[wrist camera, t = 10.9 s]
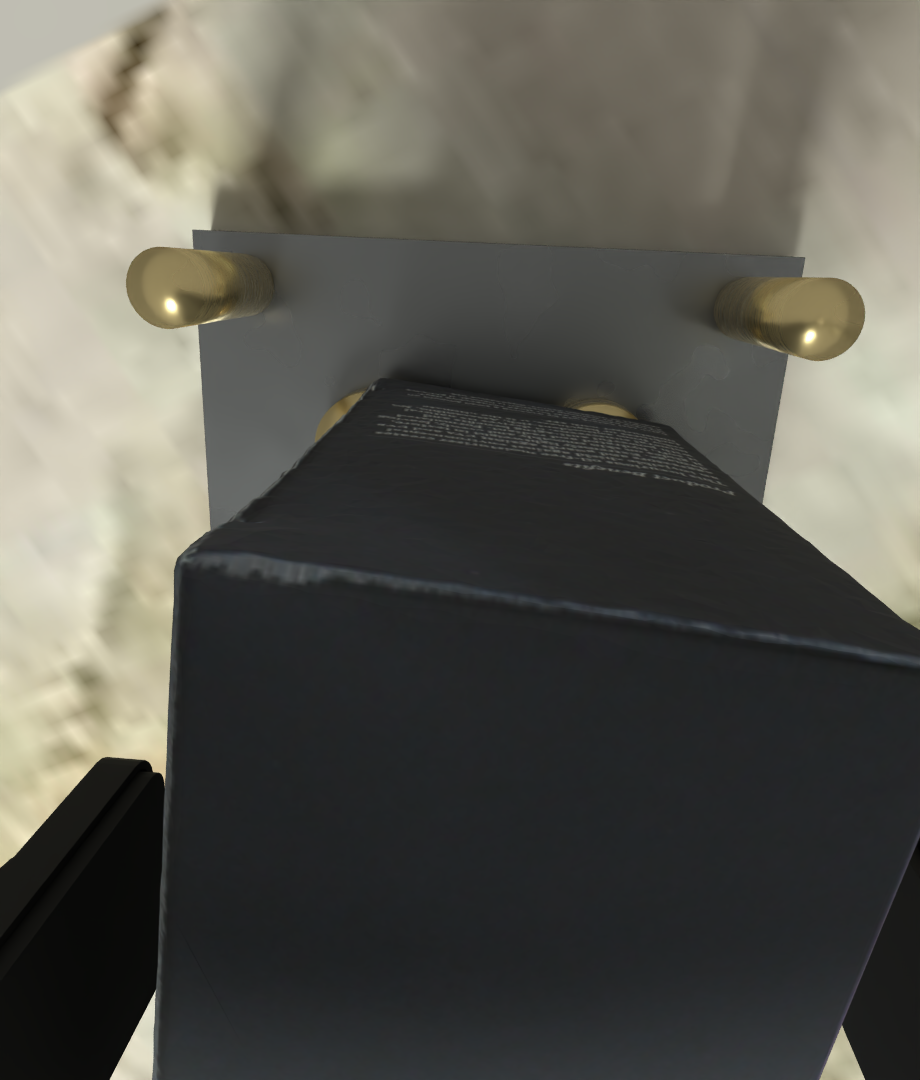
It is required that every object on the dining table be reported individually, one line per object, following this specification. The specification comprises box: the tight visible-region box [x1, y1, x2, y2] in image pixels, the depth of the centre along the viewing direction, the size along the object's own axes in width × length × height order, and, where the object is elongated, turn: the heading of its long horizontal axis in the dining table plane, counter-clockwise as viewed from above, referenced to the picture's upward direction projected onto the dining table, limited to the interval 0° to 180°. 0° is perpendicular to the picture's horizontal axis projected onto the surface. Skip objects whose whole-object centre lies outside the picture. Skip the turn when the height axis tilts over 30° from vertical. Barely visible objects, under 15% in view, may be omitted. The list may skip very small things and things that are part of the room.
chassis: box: [126, 230, 865, 530], centre depth 17 cm, size 12×16×5 cm
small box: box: [152, 378, 920, 1080], centre depth 12 cm, size 11×6×10 cm, turn 171°
